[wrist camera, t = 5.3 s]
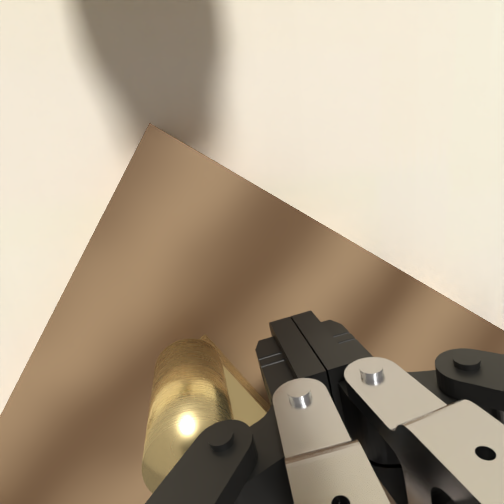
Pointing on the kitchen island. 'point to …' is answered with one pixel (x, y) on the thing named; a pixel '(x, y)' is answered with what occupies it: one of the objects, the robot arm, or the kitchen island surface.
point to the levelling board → (193, 317)
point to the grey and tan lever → (192, 402)
